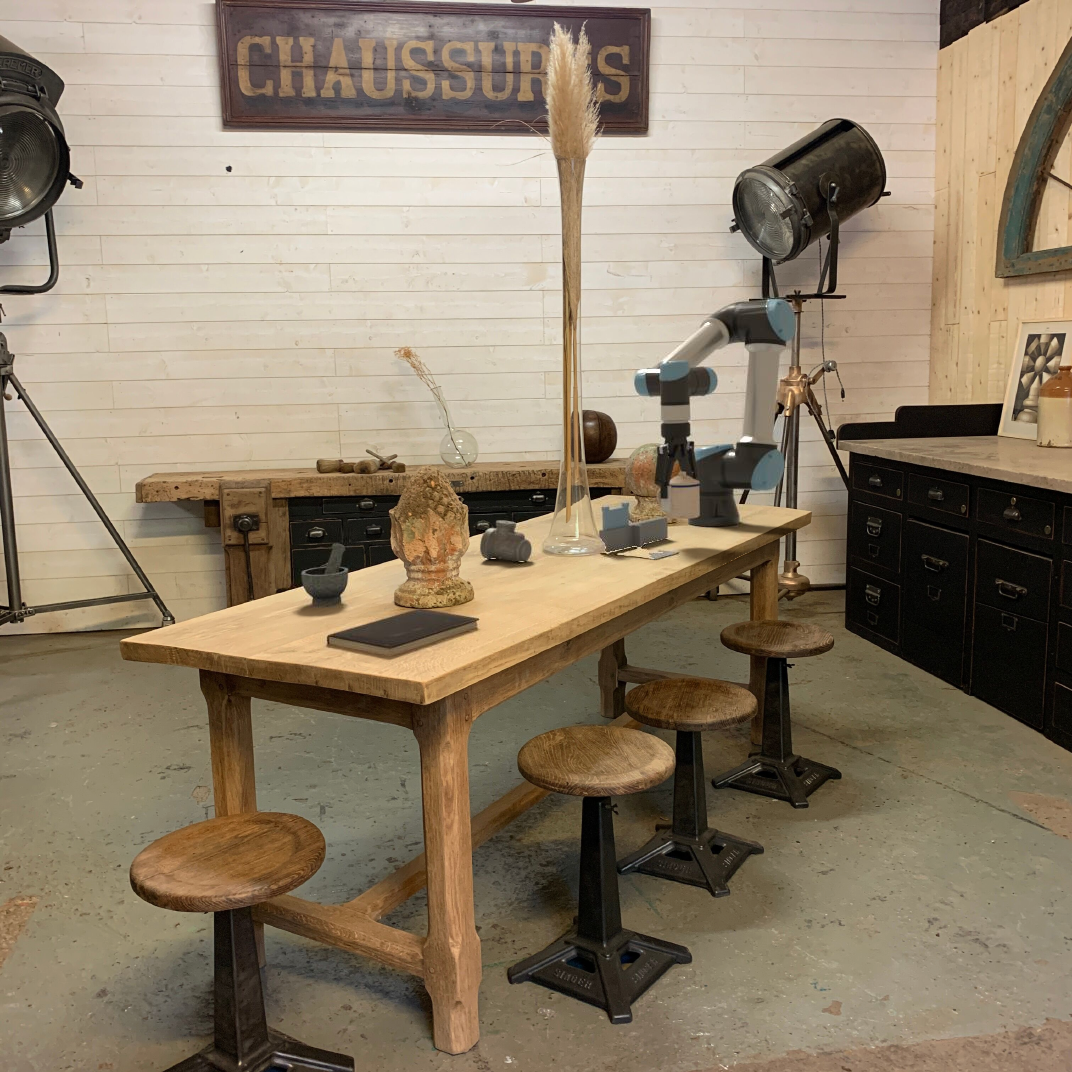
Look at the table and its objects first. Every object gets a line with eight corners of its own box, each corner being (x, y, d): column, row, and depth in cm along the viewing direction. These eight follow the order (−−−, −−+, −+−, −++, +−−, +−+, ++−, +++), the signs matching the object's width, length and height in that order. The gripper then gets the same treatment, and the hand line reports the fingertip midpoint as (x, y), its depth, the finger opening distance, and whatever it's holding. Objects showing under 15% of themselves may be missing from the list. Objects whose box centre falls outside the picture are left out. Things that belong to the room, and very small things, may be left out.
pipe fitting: (476, 559, 257) (480, 519, 256) (496, 557, 264) (500, 517, 262) (514, 569, 251) (519, 528, 249) (534, 566, 257) (538, 526, 256)
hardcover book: (479, 630, 192) (479, 618, 192) (390, 660, 174) (389, 646, 174) (417, 619, 202) (416, 608, 201) (327, 646, 184) (326, 634, 183)
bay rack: (660, 538, 283) (660, 516, 282) (713, 543, 272) (713, 521, 271) (599, 553, 263) (599, 530, 262) (654, 560, 252) (654, 535, 251)
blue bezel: (625, 525, 270) (625, 502, 269) (629, 525, 269) (629, 502, 268) (602, 530, 262) (601, 506, 261) (605, 530, 261) (605, 507, 260)
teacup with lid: (706, 515, 269) (706, 470, 267) (690, 520, 262) (689, 474, 260) (666, 512, 276) (665, 469, 274) (649, 517, 269) (648, 472, 267)
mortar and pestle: (329, 610, 210) (325, 552, 208) (293, 606, 214) (289, 549, 212) (363, 598, 220) (360, 543, 218) (328, 595, 224) (324, 540, 222)
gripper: (686, 418, 275) (688, 502, 279) (638, 424, 259) (640, 513, 263) (710, 418, 270) (711, 503, 274) (663, 425, 254) (665, 515, 258)
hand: (677, 508), depth 269 cm, fingers closed on teacup with lid, 9 cm apart
